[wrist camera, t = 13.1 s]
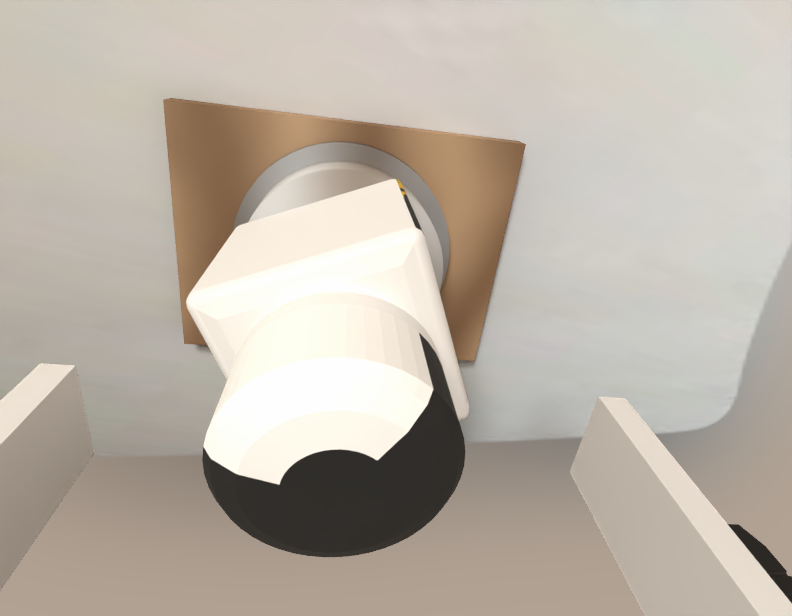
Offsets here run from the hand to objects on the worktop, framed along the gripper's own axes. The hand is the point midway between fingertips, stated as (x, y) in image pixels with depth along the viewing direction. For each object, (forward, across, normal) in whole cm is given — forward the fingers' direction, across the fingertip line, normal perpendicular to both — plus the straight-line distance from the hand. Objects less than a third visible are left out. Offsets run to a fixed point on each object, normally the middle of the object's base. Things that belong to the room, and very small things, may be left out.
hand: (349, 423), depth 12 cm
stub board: (+14, 0, 0) cm, 14 cm away
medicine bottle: (+10, 0, 0) cm, 10 cm away
